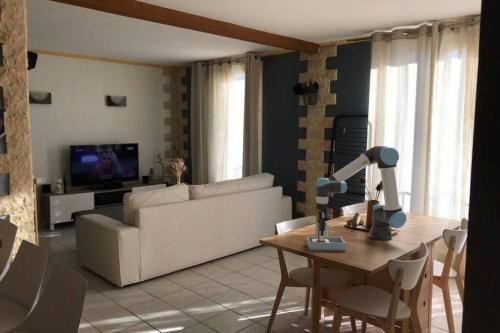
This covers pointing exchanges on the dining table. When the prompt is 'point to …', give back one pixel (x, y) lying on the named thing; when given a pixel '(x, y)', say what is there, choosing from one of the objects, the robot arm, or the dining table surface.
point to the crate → (326, 244)
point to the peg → (319, 233)
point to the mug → (324, 230)
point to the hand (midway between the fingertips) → (321, 239)
